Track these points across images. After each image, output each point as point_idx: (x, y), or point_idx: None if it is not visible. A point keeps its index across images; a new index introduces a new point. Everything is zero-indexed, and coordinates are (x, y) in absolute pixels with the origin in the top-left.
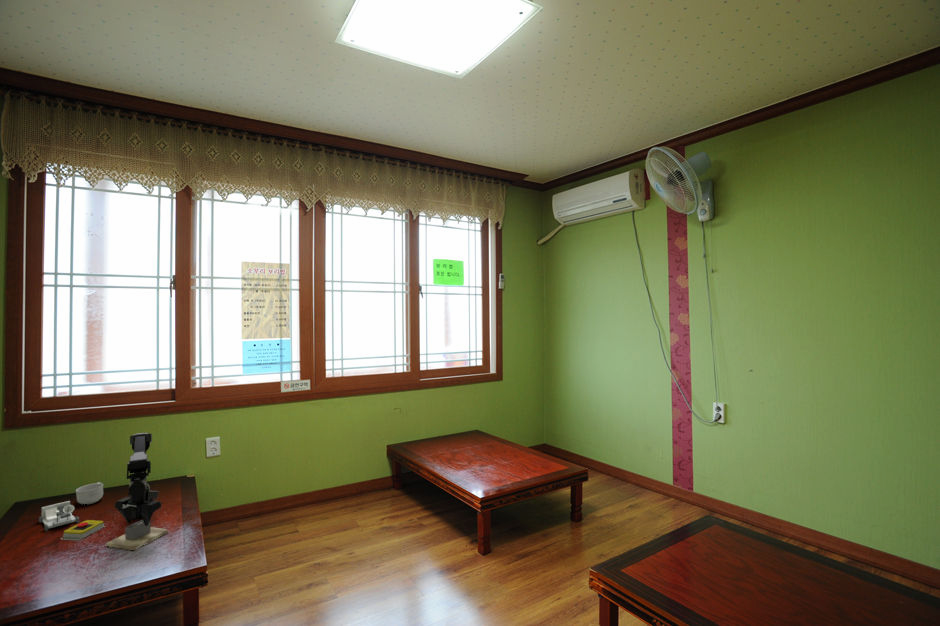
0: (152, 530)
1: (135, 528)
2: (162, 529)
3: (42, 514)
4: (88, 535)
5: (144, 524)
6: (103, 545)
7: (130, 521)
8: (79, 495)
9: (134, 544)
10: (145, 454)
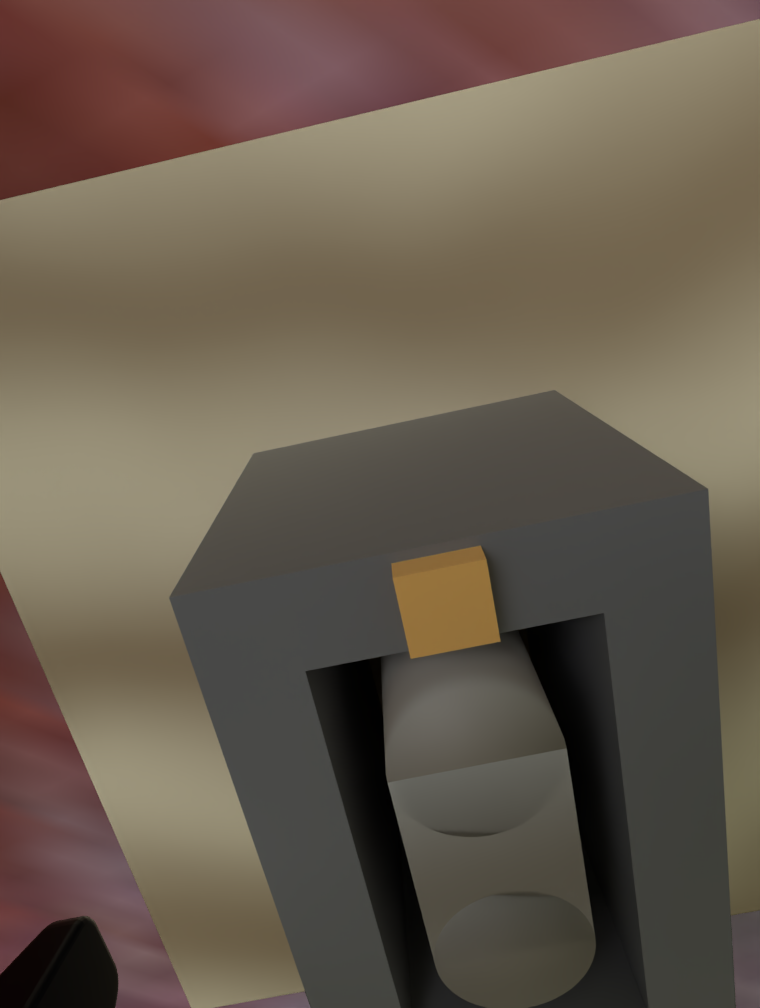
0: (472, 277)
1: None
2: (696, 81)
3: None
4: None
5: (709, 739)
6: (114, 947)
7: (72, 979)
8: None
9: (752, 838)
10: None
